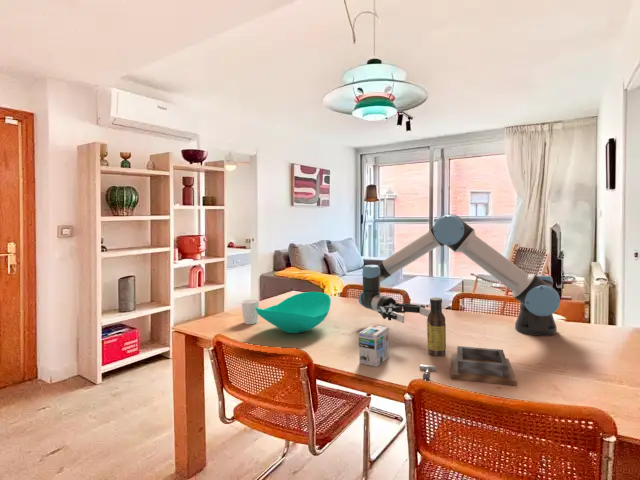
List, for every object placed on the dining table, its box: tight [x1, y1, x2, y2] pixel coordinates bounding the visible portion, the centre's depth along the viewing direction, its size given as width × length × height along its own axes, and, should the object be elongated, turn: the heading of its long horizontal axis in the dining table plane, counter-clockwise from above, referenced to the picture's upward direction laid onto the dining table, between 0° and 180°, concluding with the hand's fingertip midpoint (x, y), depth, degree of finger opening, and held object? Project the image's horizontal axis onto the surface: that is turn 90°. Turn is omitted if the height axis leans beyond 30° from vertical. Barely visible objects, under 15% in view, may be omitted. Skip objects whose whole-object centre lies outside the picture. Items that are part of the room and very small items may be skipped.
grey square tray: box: [450, 345, 518, 387], centre depth 128 cm, size 18×18×5 cm
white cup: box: [241, 299, 260, 325], centre depth 189 cm, size 8×8×10 cm
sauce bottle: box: [426, 297, 447, 357], centre depth 143 cm, size 6×6×20 cm
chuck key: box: [419, 364, 437, 381], centre depth 126 cm, size 9×5×2 cm, turn 162°
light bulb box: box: [358, 324, 390, 368], centre depth 138 cm, size 11×7×11 cm, turn 148°
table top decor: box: [256, 291, 332, 334], centre depth 174 cm, size 40×28×13 cm
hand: (418, 316), depth 152 cm, fingers open, 13 cm apart
